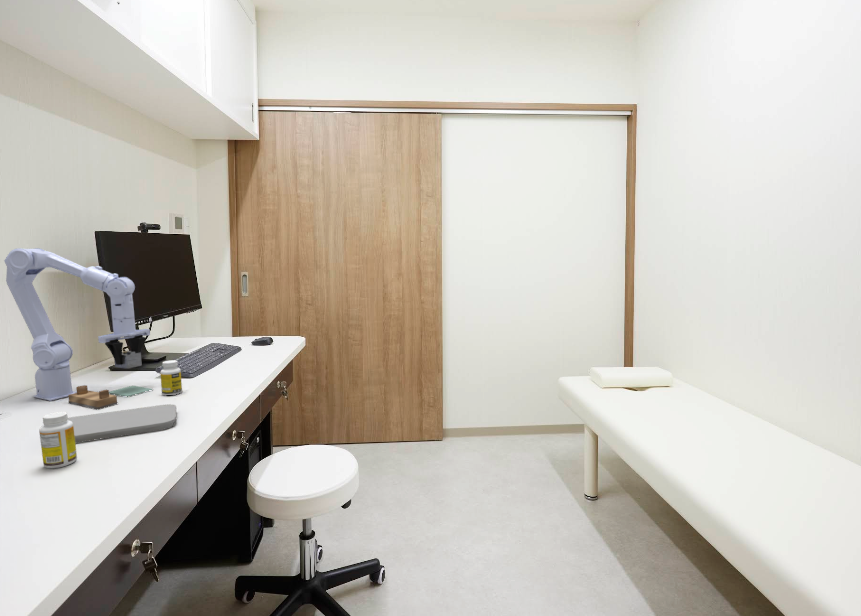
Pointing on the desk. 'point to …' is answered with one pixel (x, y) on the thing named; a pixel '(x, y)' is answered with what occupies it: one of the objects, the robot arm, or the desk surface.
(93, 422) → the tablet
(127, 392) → the mat
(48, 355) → the robot arm
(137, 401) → the desk surface
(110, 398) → the plane body
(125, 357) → the lever cap
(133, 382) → the desk surface
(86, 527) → the desk surface
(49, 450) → the supplement bottle
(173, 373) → the supplement bottle
